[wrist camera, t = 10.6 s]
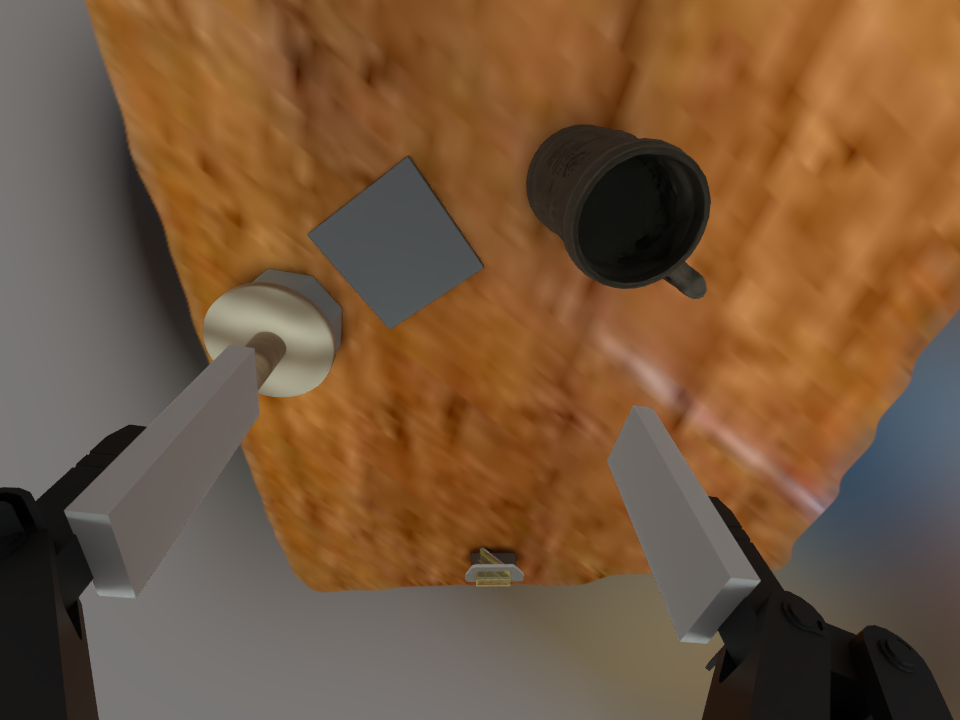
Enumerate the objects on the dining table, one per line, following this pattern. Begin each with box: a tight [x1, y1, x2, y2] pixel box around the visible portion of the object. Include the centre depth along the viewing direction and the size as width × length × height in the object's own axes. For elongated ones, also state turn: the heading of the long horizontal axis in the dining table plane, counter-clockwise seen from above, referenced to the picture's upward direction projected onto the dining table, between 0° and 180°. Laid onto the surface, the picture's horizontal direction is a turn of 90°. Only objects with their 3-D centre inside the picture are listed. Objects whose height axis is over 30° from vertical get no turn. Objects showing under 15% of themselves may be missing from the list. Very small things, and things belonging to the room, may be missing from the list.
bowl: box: [251, 269, 342, 352], centre depth 51 cm, size 12×12×6 cm
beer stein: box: [526, 125, 711, 299], centre depth 38 cm, size 15×11×20 cm
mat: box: [308, 156, 484, 329], centre depth 49 cm, size 14×14×1 cm
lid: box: [203, 282, 336, 397], centre depth 44 cm, size 14×14×11 cm
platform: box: [465, 548, 524, 586], centre depth 74 cm, size 12×18×7 cm, turn 88°
